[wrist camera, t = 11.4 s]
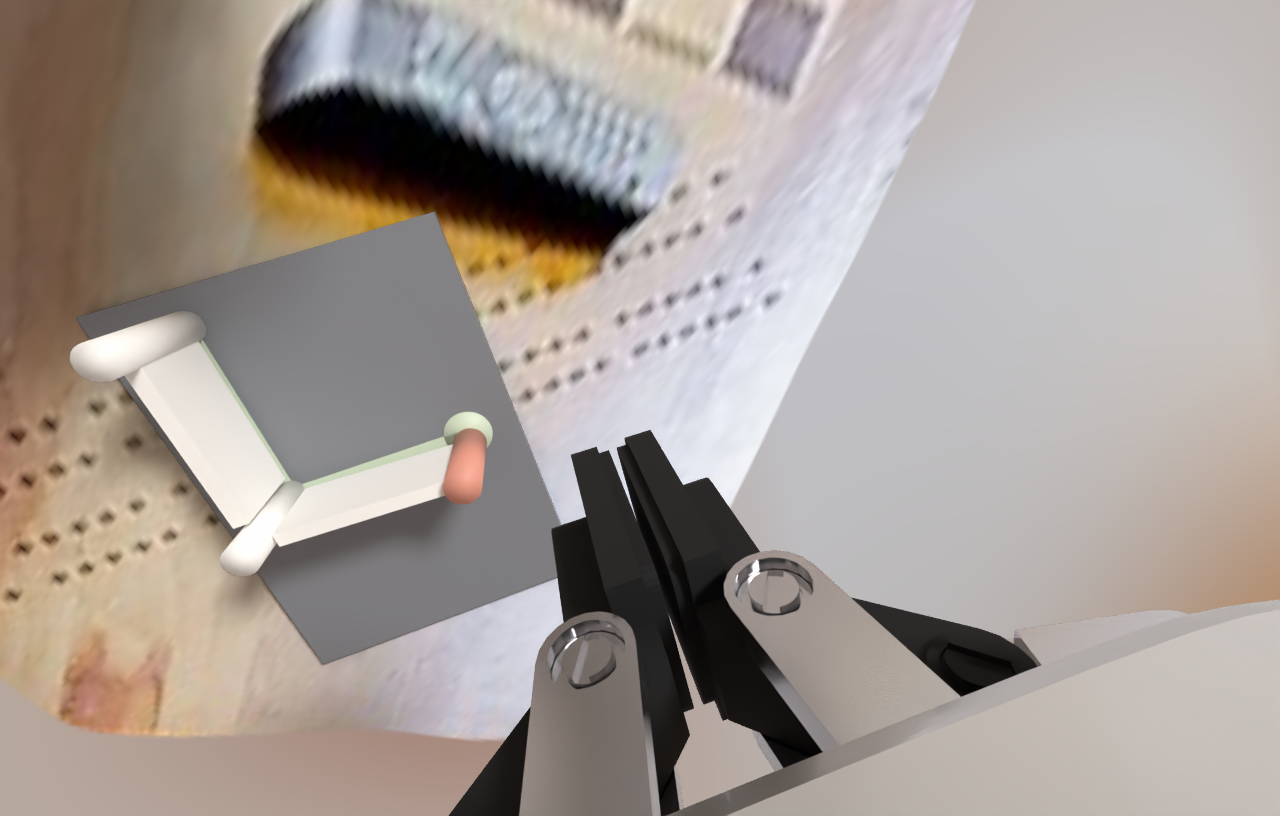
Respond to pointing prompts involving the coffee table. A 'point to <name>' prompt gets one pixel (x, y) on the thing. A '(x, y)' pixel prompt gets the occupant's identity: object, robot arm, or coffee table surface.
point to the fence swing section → (389, 489)
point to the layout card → (369, 426)
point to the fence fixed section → (199, 426)
